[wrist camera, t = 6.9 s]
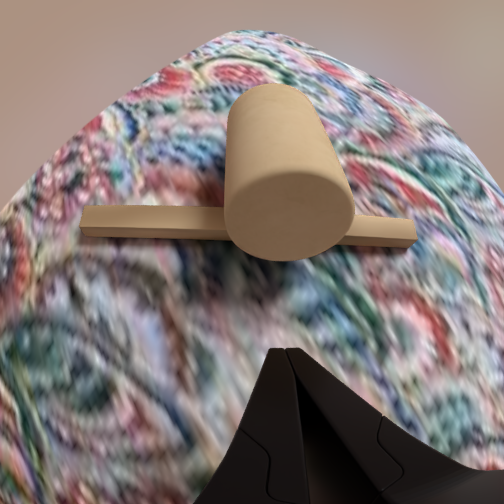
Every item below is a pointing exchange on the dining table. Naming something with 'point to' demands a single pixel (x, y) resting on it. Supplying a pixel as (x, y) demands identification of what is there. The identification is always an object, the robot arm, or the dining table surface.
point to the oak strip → (222, 225)
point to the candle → (282, 177)
